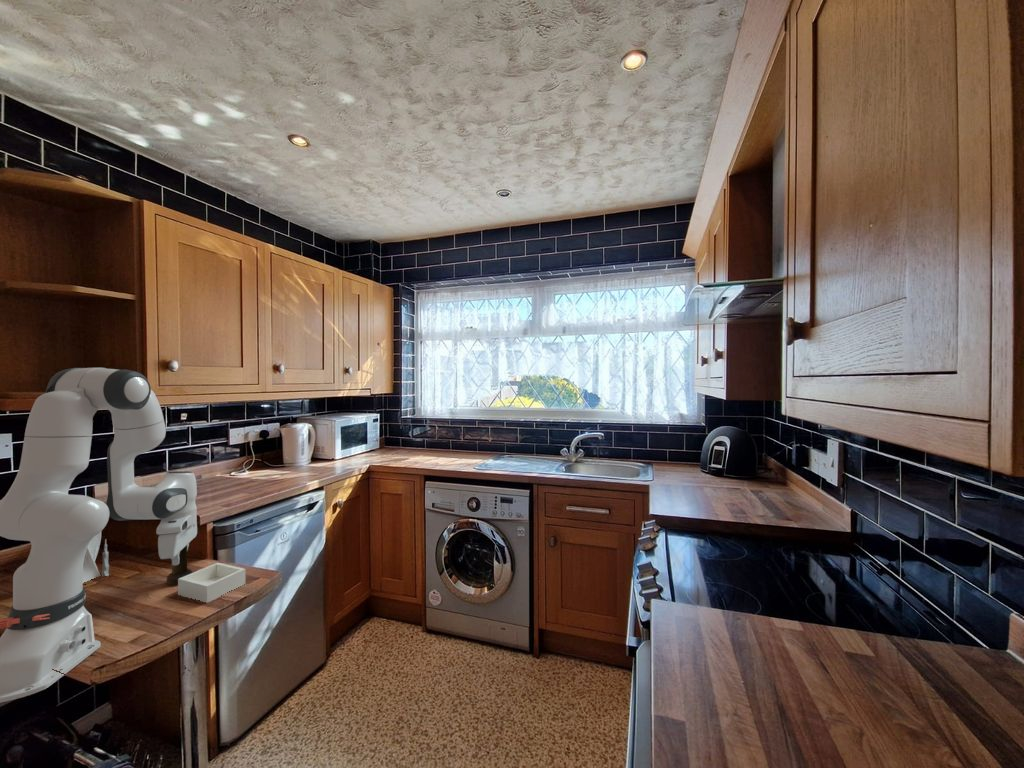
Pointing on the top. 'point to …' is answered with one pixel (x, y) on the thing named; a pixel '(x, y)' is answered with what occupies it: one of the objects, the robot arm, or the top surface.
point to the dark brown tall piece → (179, 569)
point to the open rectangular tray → (211, 582)
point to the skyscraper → (89, 560)
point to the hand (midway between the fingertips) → (179, 561)
